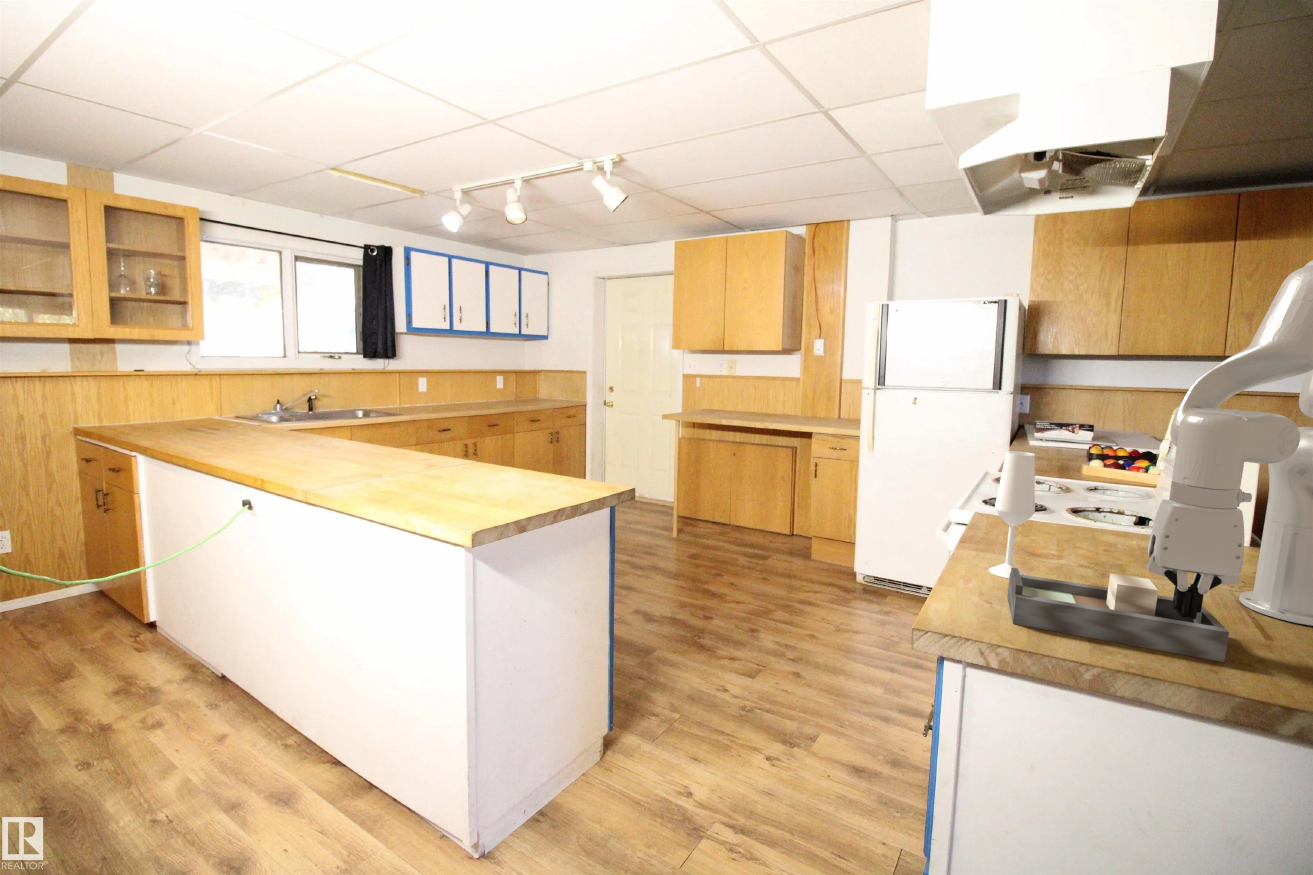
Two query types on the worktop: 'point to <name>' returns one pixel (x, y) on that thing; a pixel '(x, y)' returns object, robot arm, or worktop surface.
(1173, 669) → the worktop surface
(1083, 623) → the tray
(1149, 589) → the block
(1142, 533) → the worktop surface
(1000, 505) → the champagne flute
